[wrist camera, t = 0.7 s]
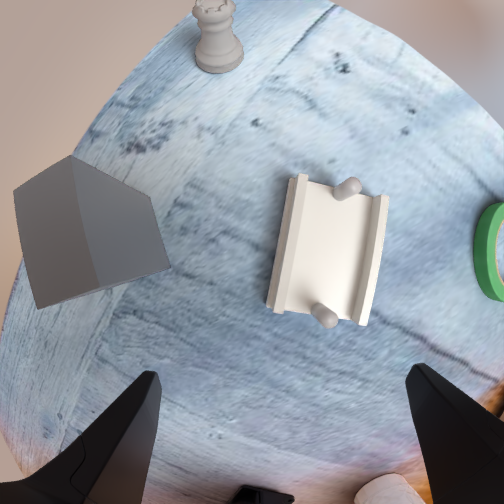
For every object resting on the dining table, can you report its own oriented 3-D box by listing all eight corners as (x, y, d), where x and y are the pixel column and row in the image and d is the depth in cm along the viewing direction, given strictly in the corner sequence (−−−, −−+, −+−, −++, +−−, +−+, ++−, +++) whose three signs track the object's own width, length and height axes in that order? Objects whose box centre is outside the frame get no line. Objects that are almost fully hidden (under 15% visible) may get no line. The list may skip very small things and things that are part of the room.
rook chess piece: (237, 79, 22) (235, 21, 14) (189, 73, 22) (172, 17, 14) (249, 45, 22) (250, -13, 14) (204, 40, 22) (194, -16, 14)
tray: (357, 321, 23) (378, 334, 19) (265, 307, 23) (269, 319, 18) (379, 200, 23) (403, 191, 19) (289, 177, 23) (298, 163, 18)
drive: (170, 267, 22) (100, 287, 10) (128, 282, 22) (37, 309, 10) (149, 197, 22) (70, 154, 10) (108, 214, 22) (13, 190, 10)
